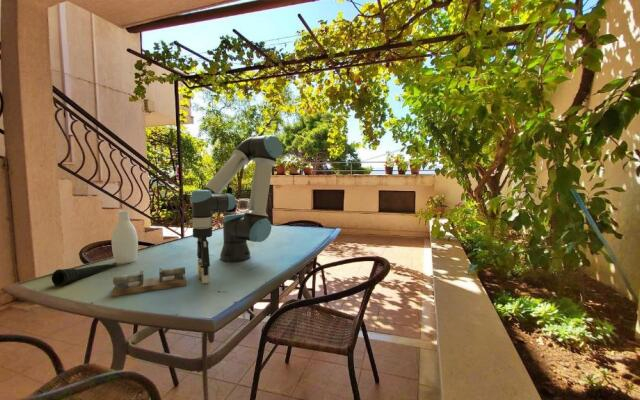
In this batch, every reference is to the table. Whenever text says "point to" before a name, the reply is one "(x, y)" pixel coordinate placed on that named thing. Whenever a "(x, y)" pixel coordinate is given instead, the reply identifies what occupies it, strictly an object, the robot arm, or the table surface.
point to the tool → (77, 273)
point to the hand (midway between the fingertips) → (203, 277)
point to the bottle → (124, 240)
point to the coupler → (200, 270)
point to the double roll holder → (149, 281)
